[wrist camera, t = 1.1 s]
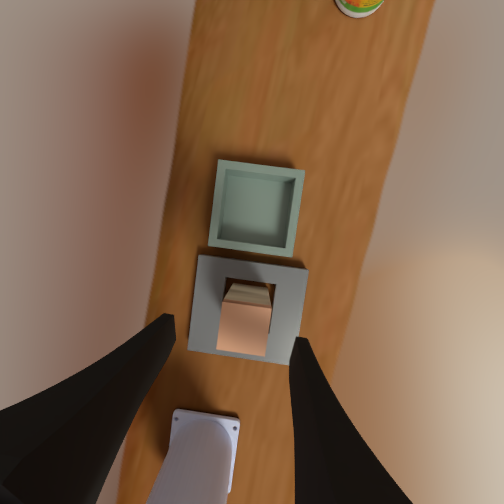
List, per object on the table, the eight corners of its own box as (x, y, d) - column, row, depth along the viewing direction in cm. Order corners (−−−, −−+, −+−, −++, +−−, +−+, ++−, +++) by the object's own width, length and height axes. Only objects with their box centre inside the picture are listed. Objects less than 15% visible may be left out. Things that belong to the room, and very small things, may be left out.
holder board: (291, 359, 23) (293, 365, 22) (190, 344, 23) (187, 350, 22) (306, 268, 23) (308, 270, 21) (201, 254, 23) (198, 254, 22)
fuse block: (262, 321, 23) (264, 356, 16) (228, 316, 23) (216, 349, 16) (267, 287, 23) (271, 308, 16) (233, 282, 23) (222, 301, 16)
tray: (288, 255, 22) (292, 257, 20) (213, 245, 23) (207, 245, 20) (299, 178, 22) (305, 170, 19) (222, 168, 22) (218, 159, 20)
